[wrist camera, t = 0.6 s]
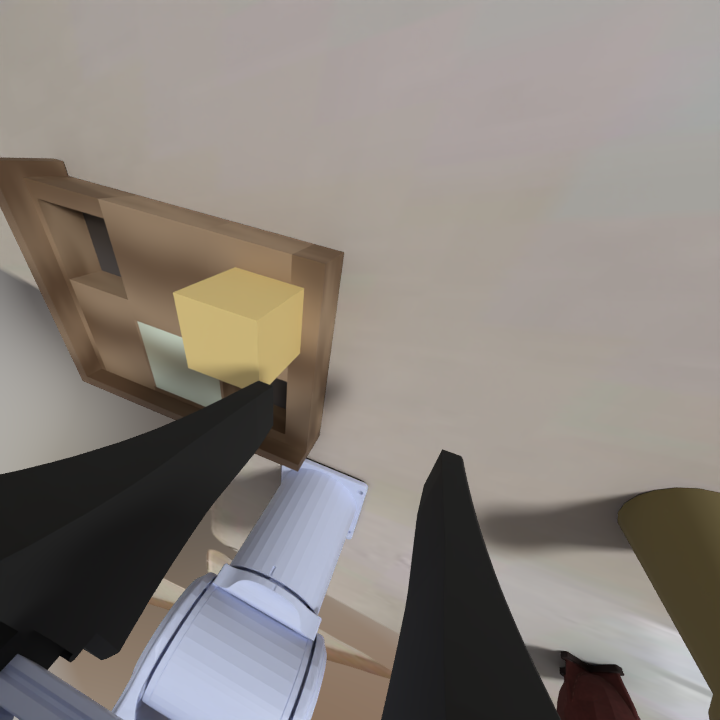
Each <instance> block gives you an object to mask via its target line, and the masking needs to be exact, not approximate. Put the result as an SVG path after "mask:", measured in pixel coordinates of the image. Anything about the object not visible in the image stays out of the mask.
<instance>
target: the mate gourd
mask: <svg viewBox="0 0 720 720" xmlns="http://www.w3.org/2000/svg"><path fill="white" fill-rule="evenodd" d="M561 658H562V659H564V660H565V662H566V667H562V668H560V674H561V675H562V676H564V683H563V685H562V687H561V689H560V691H559V696H558V701H557V713H558V715H559V716H560V718H561V720H640V718H639V716H638V714H637V711H636V709H635V706H634V704H633V702H632V700H631V698H630V696H629V694H628V692H627V690H626V688H625V686H624V683H623V681H622V679H621V677H620V676H624V673H623V671H622V668H621V667H619V666H618V665H597V666H590V665H587V664H586V663H584V662H583V661H581V660H580V659H578V658H576V657H575V656H573V655H572V654H570V653H569V652H567V651H562V652H561Z"/></svg>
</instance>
